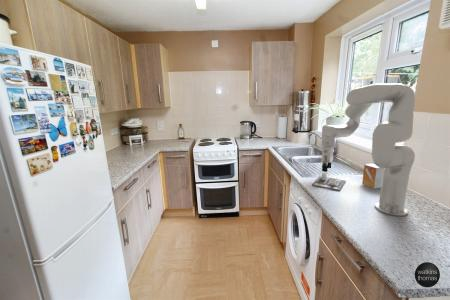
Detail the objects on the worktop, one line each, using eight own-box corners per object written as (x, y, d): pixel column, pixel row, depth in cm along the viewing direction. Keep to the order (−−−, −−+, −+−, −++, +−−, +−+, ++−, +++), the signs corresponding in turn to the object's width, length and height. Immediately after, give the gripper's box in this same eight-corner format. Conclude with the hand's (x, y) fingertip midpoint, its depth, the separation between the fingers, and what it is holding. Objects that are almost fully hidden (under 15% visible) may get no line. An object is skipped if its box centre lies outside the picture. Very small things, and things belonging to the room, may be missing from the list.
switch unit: (339, 191, 126) (340, 187, 125) (311, 185, 135) (311, 182, 135) (345, 182, 139) (345, 178, 139) (319, 177, 149) (319, 174, 149)
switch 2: (335, 186, 130) (336, 179, 129) (329, 185, 132) (330, 178, 131) (336, 185, 132) (337, 177, 131) (331, 184, 134) (331, 176, 133)
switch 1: (325, 181, 138) (326, 174, 137) (320, 180, 140) (321, 173, 139) (327, 180, 141) (327, 172, 140) (321, 179, 143) (322, 172, 142)
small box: (361, 184, 135) (364, 164, 132) (369, 182, 137) (371, 163, 134) (374, 188, 128) (376, 167, 125) (382, 187, 129) (384, 166, 127)
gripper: (330, 146, 129) (329, 174, 132) (337, 142, 142) (335, 167, 146) (317, 145, 134) (316, 172, 137) (325, 141, 147) (324, 165, 150)
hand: (326, 169), depth 141 cm, fingers open, 9 cm apart
